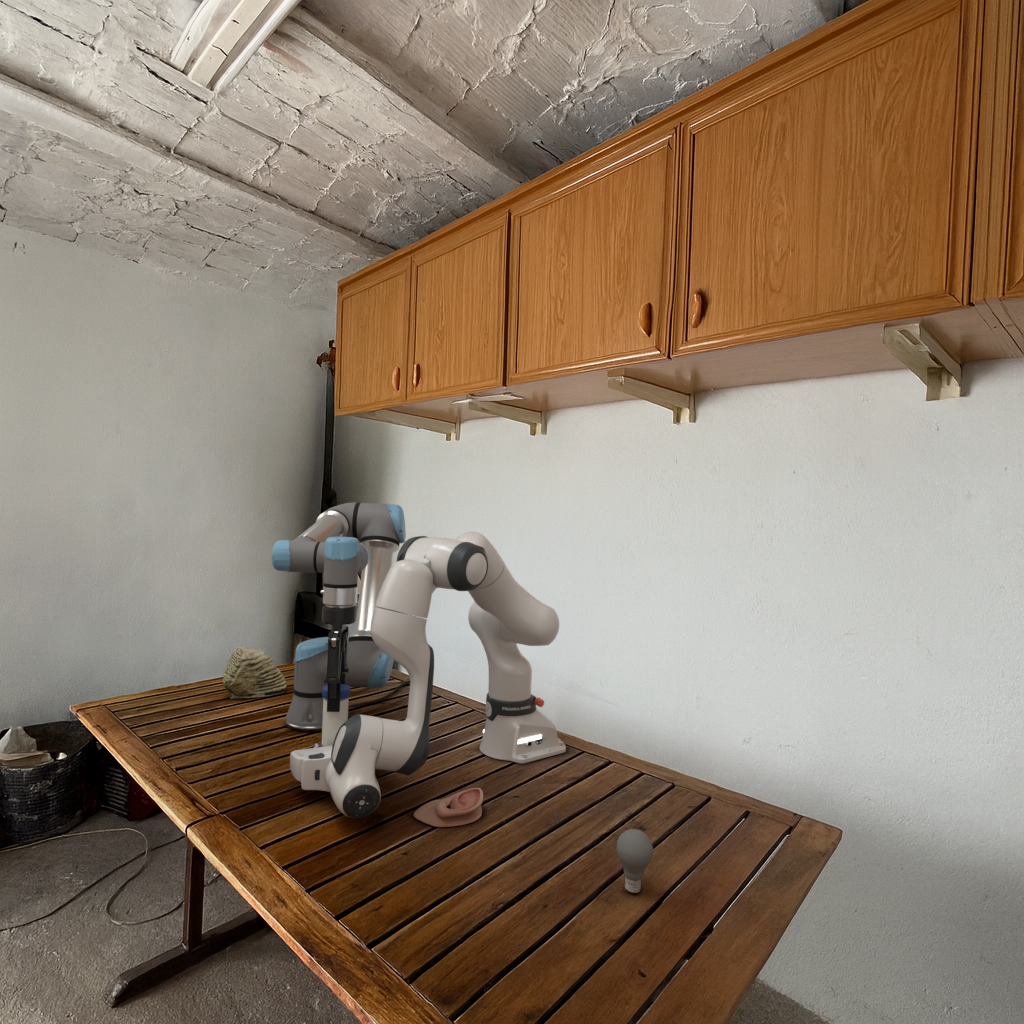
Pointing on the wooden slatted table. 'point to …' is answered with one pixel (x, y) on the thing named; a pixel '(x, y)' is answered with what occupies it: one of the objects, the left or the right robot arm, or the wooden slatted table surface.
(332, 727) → the bottle
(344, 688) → the lid
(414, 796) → the wooden slatted table surface
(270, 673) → the fossil
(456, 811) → the anatomical model
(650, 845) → the light bulb
